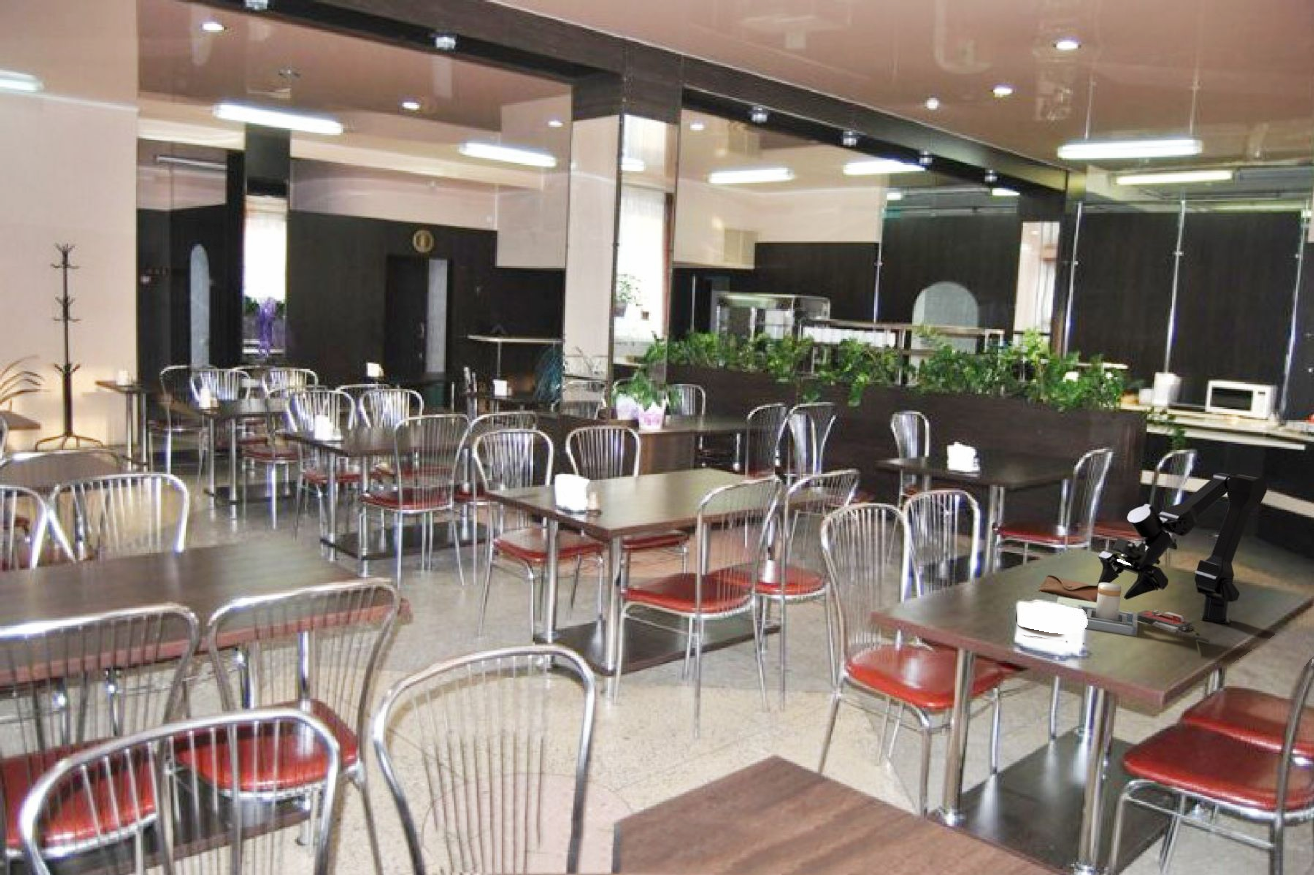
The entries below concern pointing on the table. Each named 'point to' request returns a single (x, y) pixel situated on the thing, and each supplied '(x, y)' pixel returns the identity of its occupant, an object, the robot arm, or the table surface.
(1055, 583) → the sunglasses case
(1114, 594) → the white banded cylinder
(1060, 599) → the mat
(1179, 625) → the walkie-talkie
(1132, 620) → the grey square tray
